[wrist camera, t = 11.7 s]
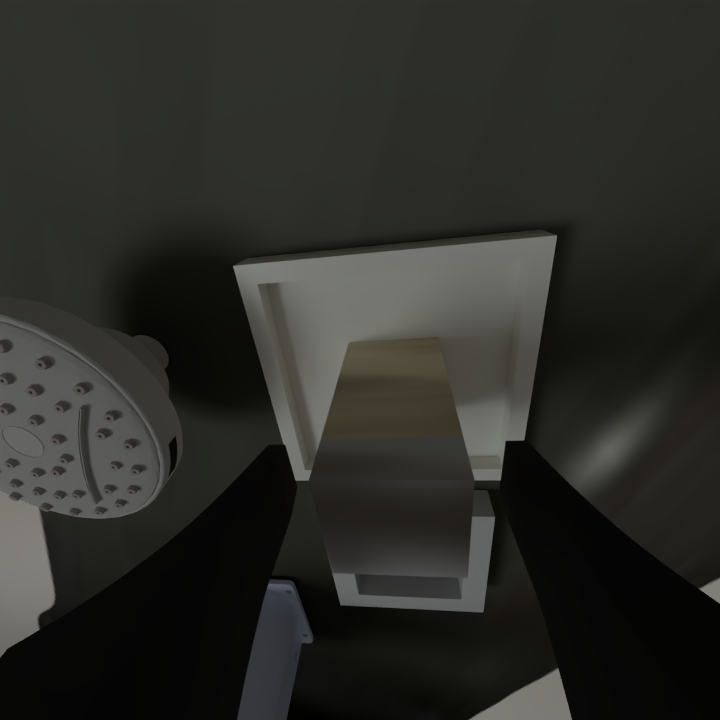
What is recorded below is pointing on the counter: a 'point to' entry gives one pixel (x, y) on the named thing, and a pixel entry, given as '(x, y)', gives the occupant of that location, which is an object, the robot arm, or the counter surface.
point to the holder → (430, 589)
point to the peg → (394, 465)
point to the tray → (404, 328)
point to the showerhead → (82, 414)
